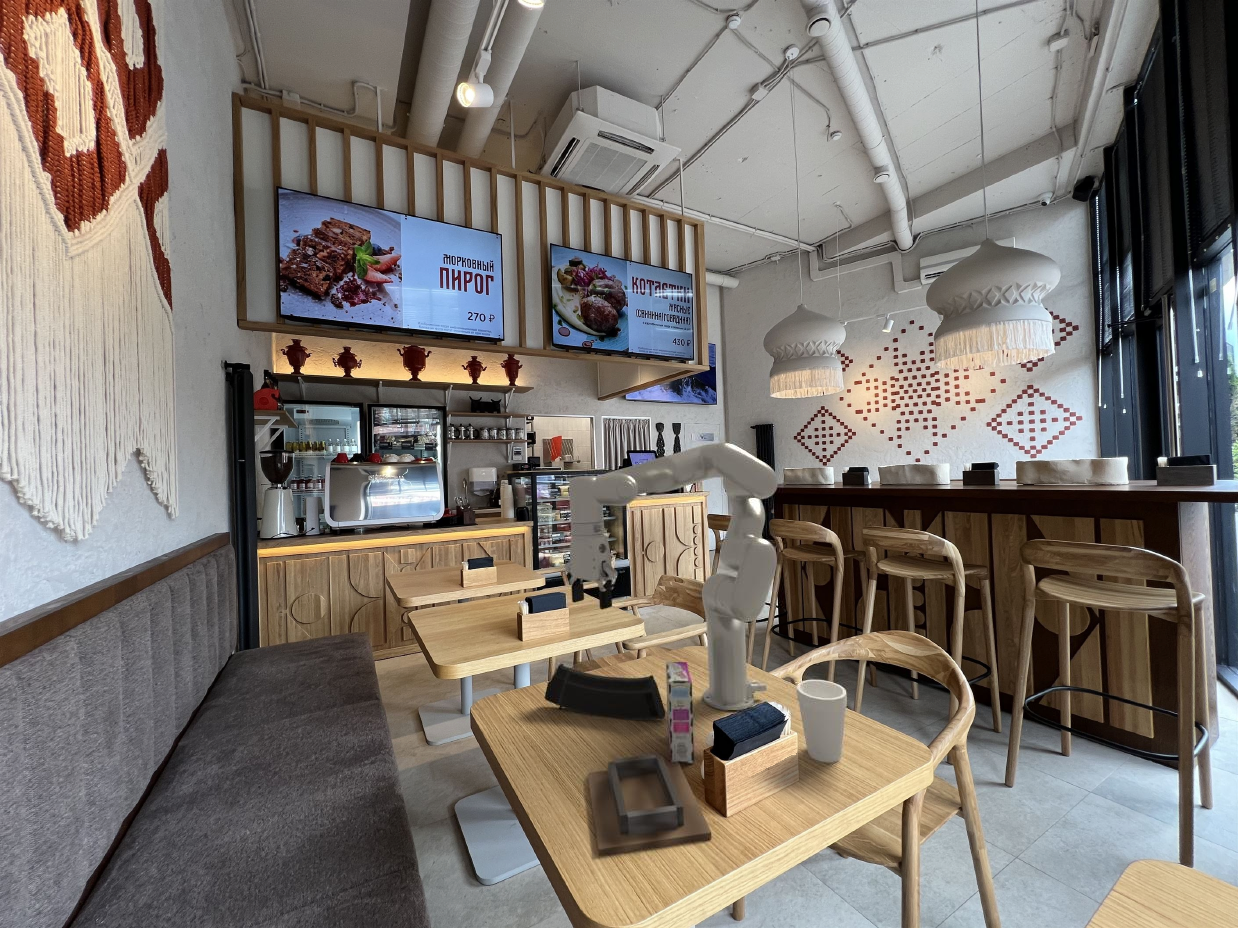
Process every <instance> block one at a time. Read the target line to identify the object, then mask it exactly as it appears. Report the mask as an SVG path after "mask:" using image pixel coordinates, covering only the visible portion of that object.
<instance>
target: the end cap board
mask: <svg viewBox="0 0 1238 928" xmlns="http://www.w3.org/2000/svg"><path fill="white" fill-rule="evenodd" d="M587 784H588V790H589V796H590V805H591V809H592V817H593V824H594V831H595V837H596V838H595V839H596V844H597V852H598V857H601V856H607V855H613V854H615V855H616V854H622V853H626V852H627V853H628V852H635V851H641V850H646V849H653V848H660V847H665V846H672V845H673V846H674V845H679V844H687V843H692V842H698V841H700V842H701V841H706V840H711V839H713V838H712V831H711V829H710V827H709V824H708V822H707V820H706V818H705V816H704V813H703V811H702V810H701V807H700V805H699V803H698V801H697V799H696V797H695V795H694V793H693V790H692V788H691V786H690V784H689V782H688V780H687V778H686V776H685V773H684V771H683V770H682V767H681V764H679V762H678V761H677V762H671V761H669V762H665V760H664V758H663V755H662V754H661V755H660V754H659V755H656V754H655V753H652V754H644V755H637V756H630V757H629V756H627V757H622V758H621V757H619V758H614V759H613V760H612V761H607V770H599V771H593V772H592V771H591V772H587Z"/></svg>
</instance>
